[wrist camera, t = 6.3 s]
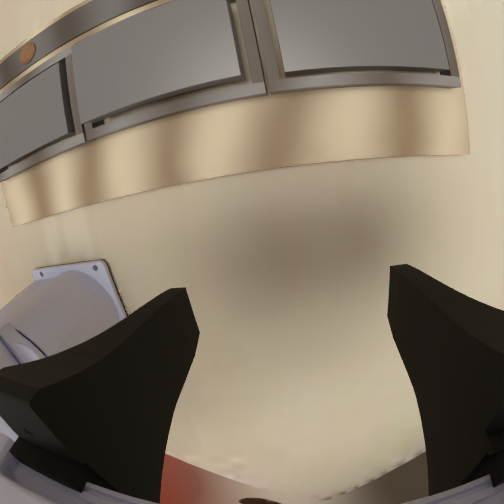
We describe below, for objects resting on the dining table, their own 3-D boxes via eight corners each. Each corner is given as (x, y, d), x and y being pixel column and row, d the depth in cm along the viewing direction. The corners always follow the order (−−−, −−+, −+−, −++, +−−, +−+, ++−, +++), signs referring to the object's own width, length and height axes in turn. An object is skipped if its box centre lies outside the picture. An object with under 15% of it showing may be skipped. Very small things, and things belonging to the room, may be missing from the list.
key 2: (7, 167, 18) (-5, 171, 17) (-1, 112, 16) (-14, 114, 15) (81, 131, 16) (68, 133, 15) (72, 64, 14) (58, 62, 13)
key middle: (95, 122, 15) (80, 123, 14) (85, 49, 13) (71, 46, 12) (245, 79, 13) (240, 74, 12) (229, -2, 12) (223, -13, 10)
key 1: (285, 76, 14) (285, 71, 13) (268, -2, 12) (266, -12, 11) (437, 72, 13) (449, 69, 11) (419, -2, 11) (428, -10, 9)
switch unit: (21, 222, 21) (2, 232, 19) (-5, 72, 16) (-25, 73, 13) (461, 152, 15) (481, 157, 13) (415, -47, 10) (428, -62, 7)
